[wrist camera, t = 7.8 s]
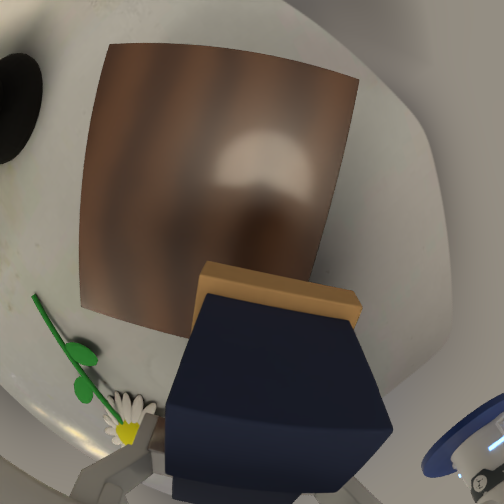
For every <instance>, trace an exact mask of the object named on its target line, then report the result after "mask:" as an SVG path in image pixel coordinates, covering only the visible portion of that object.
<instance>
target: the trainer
mask: <svg viewBox="0 0 504 504" xmlns="http://www.w3.org/2000/svg"><path fill="white" fill-rule="evenodd" d="M361 311H362V305H361V303H360V302H359V300H358V298H357V296H356V295H355V293H354V291H351V290H346V289H341V288H336V287H331V286H326V285H321V284H316V283H311V282H306V281H301V280H297V279H292V278H287V277H282V276H277V275H272V274H268V273H263V272H258V271H253V270H249V269H244V268H239V267H235V266H230V265H226V264H221V263H216V262H212V261H206V263H205V265H204V267H203V269H202V271H201V273H200V275H199V280H198V287H197V294H196V300H195V307H194V314H193V322H192V329H191V335H190V338H189V341H188V343H187V346H186V349H185V351H184V354H183V357H182V359H181V362H180V366H179V369H178V371H177V374H176V377H175V379H174V382H173V385H172V388H171V391H170V393H169V396H168V399H167V402H166V406H165V473H166V474H167V475H170V476H173V482H172V498H173V499H175V500H179V501H184V502H189V503H193V504H292V503H293V502H294V501H295V500H296V499H297V498H298V497H299V496H300V495H301V494H302V493H335V492H337V491H339V490H340V489H341V488H342V487H343V486H344V485H345V484H346V483H347V482H348V481H349V480H350V479H351V478H352V477H353V476H354V475H355V474H356V473H357V472H358V471H359V470H360V469H361V468H362V467H363V466H364V465H365V463H366V462H367V461H368V460H369V459H370V458H371V457H372V456H373V455H374V454H375V452H376V451H377V450H378V449H379V448H380V447H381V446H382V444H383V443H384V442H385V441H386V440H387V438H388V437H389V436H390V435H391V434H392V432H393V426H392V424H391V421H390V419H389V416H388V413H387V411H386V408H385V405H384V403H383V401H382V398H381V395H380V393H379V389H378V386H377V384H376V381H375V379H374V376H373V374H372V372H371V369H370V367H369V365H368V362H367V360H366V358H365V355H364V353H363V351H362V348H361V346H360V344H359V341H358V339H357V337H356V335H355V332H354V328H355V325H356V323H357V321H358V318H359V316H360V313H361Z"/></svg>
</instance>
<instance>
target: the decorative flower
mask: <svg viewBox="0 0 504 504" xmlns="http://www.w3.org/2000/svg"><path fill="white" fill-rule="evenodd" d="M31 297H32V299H33V301H34V303H35V305H36V306H37V308H38V310H39V312H40V314H41V315H42V317H43V319H44V320H45V322H46V324H47V326H48V327H49V329H50V330H51V332H52V334H53V335H54V337H55V338H56V340H57V342H58V343H59V345H60V346H61V348H62V349H63V351H64V352H65V354H66V355H67V357H68V358H69V360H70V361H71V362H72V364H73V365H74V367H75V368H76V370H77V371H78V372H79V374H80V375H81V376H82V377H80V376H79V377H78V378H77V379H76V380H75V383H74V390H75V394H76V396H77V397H78V399H79V400H80V401H81V402H82V403H86V404H88V403H90V402H91V400H92V398H93V392H94V393H95V394H96V396H97V397H98V398H99V399H100V401H101V402H102V403H103V404H104V407H105V410H106V412H107V414H108V415H109V416H107V415H103V418H104V419H105V421H106V422H107V423H108V424H109V425H110V426H111V427H107V428H105V432H106V433H107V434H109V435H113V436H114V437H113V438H112V443H113V444H116V445H119V444H121V448H122V447H124V446H126V445H127V444H130V445H132V444H133V441H134V439H135V436H136V434H137V431H138V429H139V426H140V424H141V421H142V419H143V416H144V415H145V413H146V412H147V413H150V414H154V413H155V410H156V403H151V404H149V405H148V406H147V407H146V408H145V409H144V410H143V398H142V396H141V395H138V396H137V397H136V398H135V400H134V402H133V405H132V407H131V400H130V398H129V396H128V394H127V393H126V392H125V393H124V394H123V399H122V400H121V397H120V395H119V393H118V392H117V391H116V392H115V401H114V400H113V398H112V397H111V396H108V401H107V400H106V399H105V398H104V396H103V395H102V394H101V393H100V392H99V390H98V389H97V388H96V386H95V385H94V384H93V383H92V381H91V380H90V379H89V377H88V376H87V375H86V373H85V372H84V371H83V369H82V368H81V366H80V365H79V364H78V363H80V364H82V365H86V366H94V365H96V364H97V362H98V359H97V357H96V355H95V354H94V353H93V352H92V351H91V350H90V349H89V348H87V347H85V346H83V345H81V344H80V343H75V342H70V343H66V345H65V343H64V342H63V340H62V338H61V337H60V335H59V334H58V332H57V330H56V329H55V327H54V326H53V324H52V322H51V321H50V319H49V317H48V315H47V314H46V312H45V310H44V309H43V307H42V305H41V303H40V301H39V299H38V298H37V296H36V294H34V295H33V296H31Z"/></svg>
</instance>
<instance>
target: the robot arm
mask: <svg viewBox="0 0 504 504" xmlns="http://www.w3.org/2000/svg"><path fill="white" fill-rule="evenodd" d="M451 461H452V462H453V464H452V467H453V469H457V471H458V472H459V477H461V478H462V479H463V481H464V483H465V484H466V486H467V487H469V488H471V494H472V498H473V499H474V501H475V503H478V504H504V412H502V413H501V414H499V415H498V416H497V417H496V418H495V419H494V420H492V421H491V422H490V423H488V424H487V425H485V426H484V427H482V428H481V429H479V430H478V431H476V432H475V433H474V434H472V435H471V436H470V437H469V438H468V439H466V440H465V441H464V442H463V443H462V444H461V445H460V446H459V447H458V448H457V449H456V450H455V452H454V453H453V454H452V456H451ZM153 473H156V474H160V475H164V476H168V477H172V478H173V476H170V475H167V474H166V473H165V418H164V417H160V416H157V415H154V414H150V413H147V412H146V413H145V415H144V416H143V419H142V421H141V424H140V426H139V429H138V431H137V434H136V436H135V439H134V441H133V444H132V445H130V444H127V445H126V446H124V447H122V448H120V449H119V450H117V451H115V452H114V453H112V454H110V455H108V456H106V457H105V458H103V459H101V460H99V461H97V462H96V463H94V464H92V465H90V466H88V467H86V468H84V469H82V470H81V472H80V475H79V477H78V479H77V481H76V483H75V485H74V488H73V490H72V492H71V494H70V496H69V497H68V496H66V495H65V494H63V493H61V492H59V491H57V490H55V489H53V488H51V487H49V486H47V485H46V484H44V483H42V482H40V481H39V480H37V479H35V478H34V477H32V476H30V475H28V474H27V473H26V472H24V471H22V470H21V469H19V468H18V467H16V466H15V465H13V464H12V463H10V462H9V461H8V460H6V459H5V458H3V457H2V456H1V455H0V504H128V501H127V499H126V496H125V495H126V494H127V493H128V492H129V491H131V490H132V489H134V488H135V487H136V486H138V485H139V484H140V483H142V482H143V481H144V480H146V479H147V478H148V477H149V476H151V475H152V474H153ZM301 495H314V496H315V498H316V499H317V501H318V502H319V504H382V503H381V502H380V501H379V500H378V499H377V498H376V497H375V496H374V495H372V494H371V493H370V492H369V491H368V490H367V489H366V488H365V487H364V486H363V485H362V484H361V483H360V482H359V481H358V480H357V479H356V478H355V477H354V476H353V477H352V478H351V479H350V480H349V481H348V482H347V483H346V484H345V485H344V486H343V487H342V488H341V489H340V490H339V491H337V492H335V493H302V494H301Z"/></svg>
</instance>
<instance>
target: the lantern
mask: <svg viewBox="0 0 504 504" xmlns="http://www.w3.org/2000/svg"><path fill="white" fill-rule="evenodd" d="M41 99H42V76H41V71H40V68H39V66H38V64H37V62H36V61H35V60H34V59H33V58H32V57H30V56H29V55H27V54H23V53H16V54H11V55H8V56H6V57H4V58H2V59H1V60H0V164H4V163H6V162H8V161H10V160H12V159H13V158H14V157H16V156H17V155H18V154H19V153H20V151H21V150H22V149H23V148H24V146H25V145H26V143H27V141H28V140H29V138H30V136H31V134H32V131H33V129H34V127H35V124H36V121H37V118H38V115H39V110H40V106H41Z"/></svg>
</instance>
